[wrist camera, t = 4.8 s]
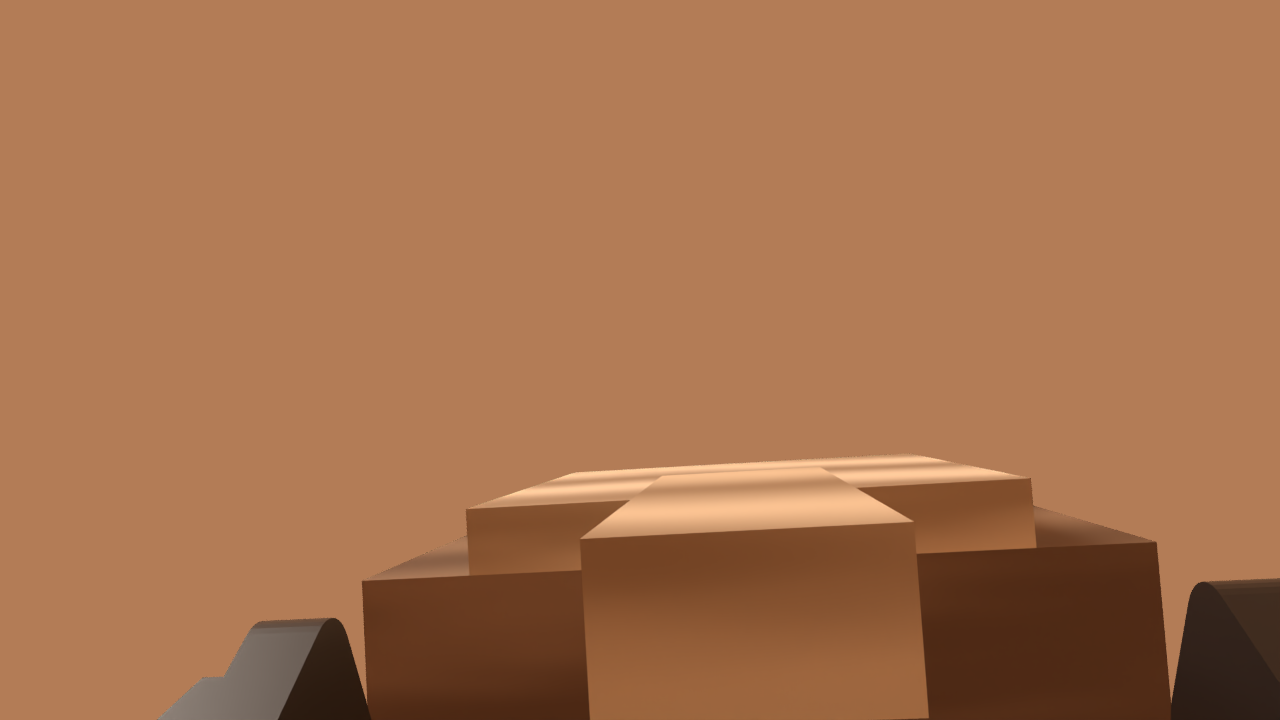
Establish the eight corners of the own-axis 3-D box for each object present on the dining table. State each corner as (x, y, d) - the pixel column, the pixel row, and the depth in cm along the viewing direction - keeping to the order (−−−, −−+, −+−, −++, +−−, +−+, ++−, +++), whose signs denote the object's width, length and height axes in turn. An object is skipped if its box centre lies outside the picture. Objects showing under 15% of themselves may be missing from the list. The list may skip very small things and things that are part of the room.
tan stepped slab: (1391, 700, 8) (1371, 497, 8) (182, 744, 9) (174, 559, 9) (912, 494, 31) (908, 439, 31) (576, 512, 32) (573, 459, 32)
